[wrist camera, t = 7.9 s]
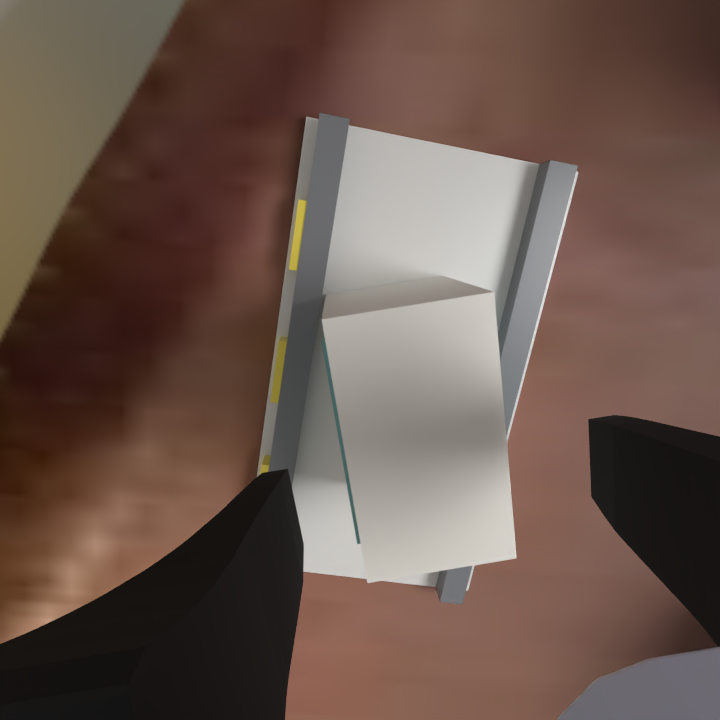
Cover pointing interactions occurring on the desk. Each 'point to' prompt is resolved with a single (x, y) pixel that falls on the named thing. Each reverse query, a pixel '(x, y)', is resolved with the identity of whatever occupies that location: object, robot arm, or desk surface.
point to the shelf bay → (388, 266)
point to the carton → (421, 424)
